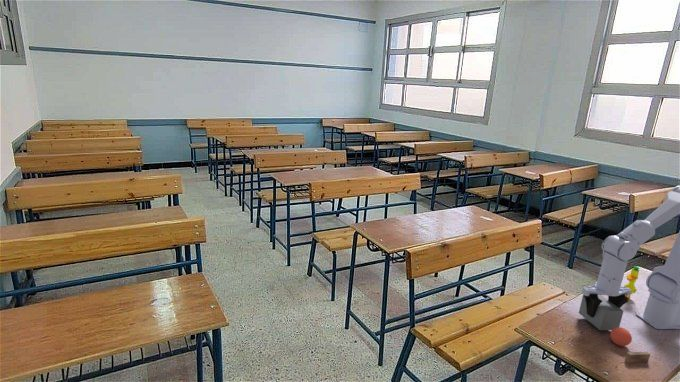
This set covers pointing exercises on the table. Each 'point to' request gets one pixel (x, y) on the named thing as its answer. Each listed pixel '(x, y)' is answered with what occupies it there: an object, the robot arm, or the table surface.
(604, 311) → the gray block
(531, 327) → the table surface
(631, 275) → the toy figure
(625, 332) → the ball
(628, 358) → the brown block
